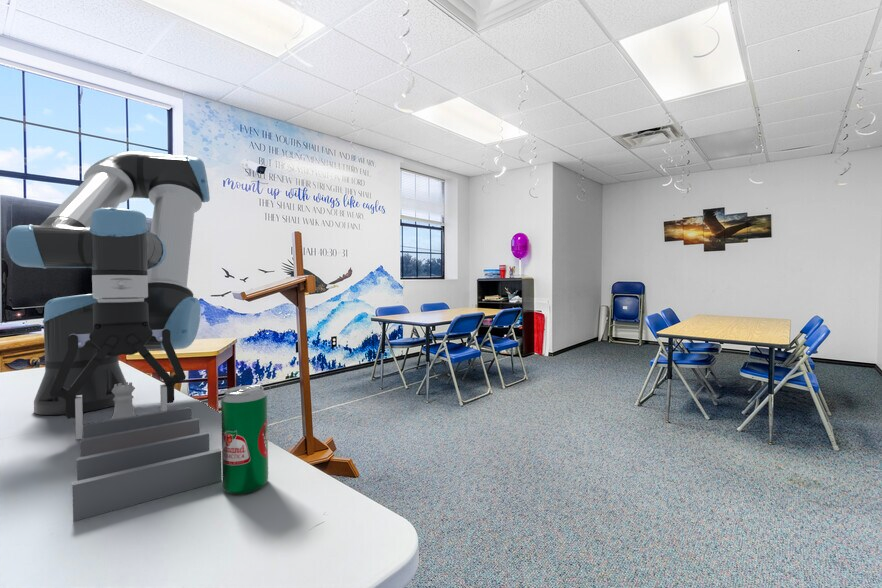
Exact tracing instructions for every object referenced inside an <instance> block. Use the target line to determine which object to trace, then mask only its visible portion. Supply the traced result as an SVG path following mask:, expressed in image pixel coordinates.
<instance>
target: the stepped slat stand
mask: <svg viewBox="0 0 882 588" xmlns="http://www.w3.org/2000/svg"><path fill="white" fill-rule="evenodd" d="M200 429H201V428H200V418H199V417H196V418H192V407H191V406H187V407H181V408H175V409H174V408H173V409H167V411H161V410H160V411H156V412H155V411H154V412H149V413H143V414H138V415H137V414H136V416H130V417H124V418H118V419H112V420H111V419H107V420H106V419H105V420H101V421H94V422H87V423H83V437H82V439H79V440H80V441H79V443H80V449H79V450H80V457H77V458H76V481H72V485H71V486H72V488H71V489H72V491H71V492H72V522H75V521H80V520H83V519H87V518H90V517H95V516H98V515H101V514H105V513H110V512H113V511H117V510H120V509H124V508H127V507H132V506H135V505H138V504H142V503H146V502H149V501H153V500H156V499H159V498H160V499H161V498H163V497H167V496H172V495H175V494H179V493H182V492H186V491H190V490H193V489H196V488H200V487H204V486H208V485H212V484H215V483H219V482H223V480H222V449H220V448H216V449H213V450H210V432H209V431H205V432H200Z"/></svg>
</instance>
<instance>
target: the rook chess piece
mask: <svg viewBox="0 0 882 588" xmlns="http://www.w3.org/2000/svg"><path fill="white" fill-rule="evenodd" d="M124 384H125V385H122V383H118V386H117V384H115V385H114V388H113V389H112V391H111V392H112V393H113V394H114V395H115V398H114V399H113V400H114V401H115V405H114V406H113V407H114V409H113V414H112V416H111V418H110V420H112V419H118V418H124V417H130V416H136V415H137V413H136V412H135V410H134V405H133V399H134V396H133V392H134V391H135V389H136V387H135V386H134V385H133V382H131V381H130V382H128V381H126V382H125V383H124Z"/></svg>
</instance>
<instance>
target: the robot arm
mask: <svg viewBox="0 0 882 588" xmlns="http://www.w3.org/2000/svg"><path fill="white" fill-rule="evenodd" d="M208 181H209V180H208V176H207V171H206V167H205V163H204V161H203V160H202V159H201V158H198V157H195V156H189V155H186V154H184V155H174V154H166V153H165V154H164V153H154V152H146V151H145V152H144V151H137V150H136V151H134V150H133V151H125V152H124V151H123V152H119V153H115V154H113V155H109V156H107V157H104V158H103V159H101V160H99V161H97V162H95V163H94V164H93V165H91V166H90V167H89V168H88V169H87V170H86V171H85V173H84V175H83V182H82V183H80V185H79V186H77V188H76V189H75V190H74V191H73V192H72V193H71V194H70V195H69V196H68V197H67V198H66V199H65V200H64V201H63V202H62V203H61V204H59V205H58V207H57V208H56V209H54V211H53V212H52V213H50V214H49V215H48V217H47V218H45V220H44V221H43V222H42V223H41V224H40V225H36V224H35V225H34V224H33V223H32V224H31V223H30V224H25V225H23V224H22V225H21V224H19V225H15V226H13V227H11V228H10V229H9V231H8V232H7V235H6V240H5V241H6V242H5V243H6V244H5V245H6V246H5V247H6V251H7V253H8V256H9V258H10V259H11V261H12V262H13V263H14V264H16V266H17V265H18V266H19V267H23V268H24V267H25V268H41V269H44V270H45V269H81V268H82V269H86V268H87V269H91V283H92V285H91V286H92V289H91V290H92V293H87V294H78V295H70V296H69V295H68V296H62V297H60V296H59V297H56V298H55V297H54V298H52V299H49V300H48V301H47V302H46V303H45V304H44V310H43V311H44V313H43V320H42V324H43V337H44V339H43V343H44V344H43V345H44V364H45V365H44V367H45V368H44V375H43V377H42V379H41V382H40V384H39V388H38V390H37V392H36V395H35V397H34V400H33V413H34V414H37V415H45V416H59V415H65V417H66V418H67V420H69V419H75V440H81V439H83V424H84V423H83V422H84V418H83V415H84V414H83V413H85V412H86V413H87V412H92V411H97V410H101V409H106V408H111V407H115V401H114V400H113V399H114V398H115V395H114V394H113V393H112V392H111V391H112V389H113V388H114V385H115V384H117V386H118V383H122V385H125V384H124V383H125V382H127V379H126V378H125V376H124V373H123V371H122V368H121V366H120V364H119V360H120V359H119V356H122V355H123V356H124V355H125V356H132V355H133V356H134V355H135V354H137V353H138V354H139V355H140V356H141V357H142V358H143V360H144V361H145V362H146V363H147V364H148V365H149V366H150V367H151V369H153V371H154V372H155V373H156V374H157V375H158V376H159V378H161V380H162V381H163V382H164V384H160V385H159V388H160V389H159V390H160V396H159V397H160V412H161V411H167V410H168V404H173V403H174V402H175V385H176V384H177V383H179V382H182V381H185V380H186V379H187V378H186V377H187V375H186V374H185V372H184V369H183V367H182V365H181V363H180V359H179V358H178V356H177V353H176V351H175V350H184V349H187V348H189V347H190V346H191V345H192V344H193V343H194V341H195V340H196V337H197V335H198V330H199V327H200V321H201V303H200V300H199V299H198V298H197V297H194V292H193V291H192V290H191V289H190V288H189V287H188V277H189V269H190V267H189V266H190V260H191V259H190V258H191V246H192V240H193V239H192V238H193V228H194V221H195V220H194V217H195V213H197V212H198V211H200V209H201V208H202V206H203V203H209V202H210V199H211V197H210V196H211V195H210V188H209V182H208ZM134 198H135V199H149V201H150V202H151V204H152V205H153V206H154V207H153V213H152V219H151V224H150V225H151V226H150V231H149V227H148V223H147V216H146V215H145V214H144V213H143V212H141V211H140V210H139V211H138V210H135V209H127V208H121V207H120V208H118V206H119V205H120V204H121V203H122V204H123V203H124V202H127V201H128V200H129V199H134ZM156 351H157V352H161V351H163V352H165V353H166V357H167V358H168V361H169V363H170V366H171V367H172V369H173V372H174V375H170V374H169V373H168V372H167V371H166V369H165V368H164V367H163V365H162V364H160V362H159V361H158V360H157V359H156V357H154V356H153V354H152V353H151V352H156Z"/></svg>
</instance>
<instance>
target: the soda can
mask: <svg viewBox="0 0 882 588" xmlns="http://www.w3.org/2000/svg"><path fill="white" fill-rule="evenodd" d="M264 389H265V388H264V386H262V385H256V384H251V385H250V384H247V385H237V386H233V387H230V388H227V389H226V390H224V395H223V397H222V399H221V400H220V405H221V406H220V408H221V411H220V412H221V413H220V414H221V468H222V488H223V490H224V491H225V492H227V493H228V494H230V495H233V496H237V495H238V496H239V495H241V496H242V495H248V494H250V493H251V494H252V493H254V492H256V491H259V490H260V489H261V488H262V487H264V486H265V484H266V483H267V482H268V480H269V444H268V443H269V437H268V436H269V435H268V395H267V393H266V392H265V391H264Z"/></svg>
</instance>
